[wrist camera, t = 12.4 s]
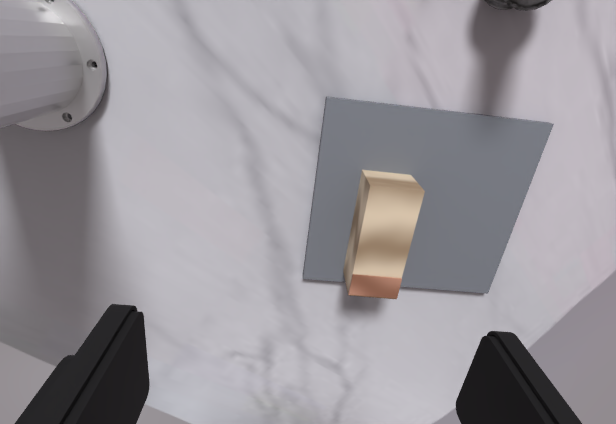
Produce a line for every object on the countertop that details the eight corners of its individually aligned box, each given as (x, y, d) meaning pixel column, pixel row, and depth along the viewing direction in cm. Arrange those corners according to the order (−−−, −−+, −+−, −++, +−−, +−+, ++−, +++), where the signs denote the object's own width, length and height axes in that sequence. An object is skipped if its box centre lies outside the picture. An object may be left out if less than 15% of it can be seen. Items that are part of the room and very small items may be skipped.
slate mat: (302, 274, 43) (302, 278, 42) (326, 96, 35) (326, 97, 34) (484, 289, 44) (487, 293, 44) (548, 122, 36) (553, 124, 35)
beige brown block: (362, 169, 37) (370, 186, 33) (410, 174, 37) (425, 191, 33) (343, 270, 42) (348, 296, 38) (386, 274, 42) (396, 300, 38)
